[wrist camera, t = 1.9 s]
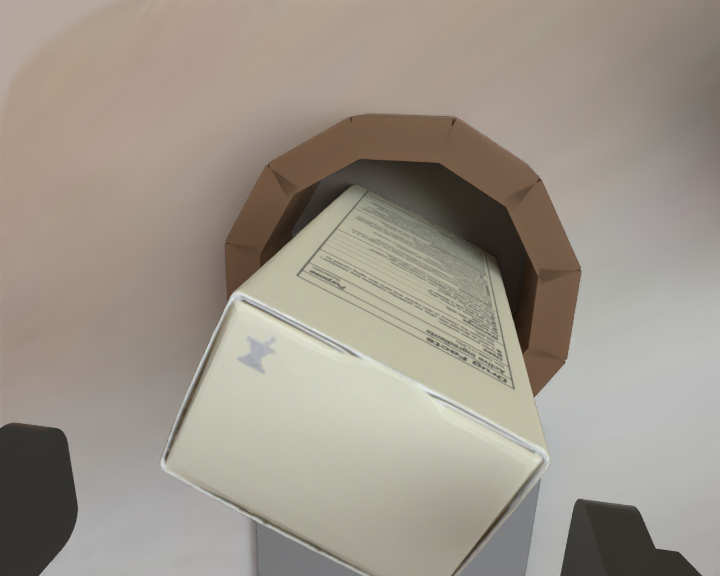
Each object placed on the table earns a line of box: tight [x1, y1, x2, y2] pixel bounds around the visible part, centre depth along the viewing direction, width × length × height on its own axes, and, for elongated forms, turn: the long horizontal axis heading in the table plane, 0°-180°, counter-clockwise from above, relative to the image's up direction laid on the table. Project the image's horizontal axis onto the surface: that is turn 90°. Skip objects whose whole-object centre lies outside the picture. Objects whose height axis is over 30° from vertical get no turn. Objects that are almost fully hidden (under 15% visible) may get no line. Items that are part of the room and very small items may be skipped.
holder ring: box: [225, 114, 581, 397], centre depth 20 cm, size 11×11×4 cm
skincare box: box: [160, 184, 550, 576], centre depth 16 cm, size 6×4×12 cm
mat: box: [256, 478, 541, 576], centre depth 25 cm, size 12×12×1 cm
